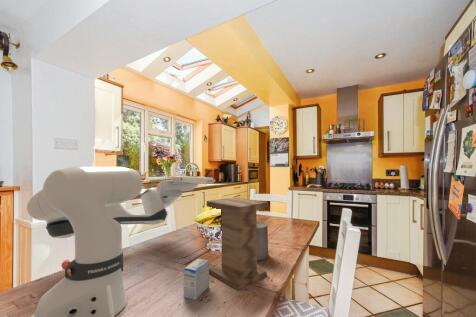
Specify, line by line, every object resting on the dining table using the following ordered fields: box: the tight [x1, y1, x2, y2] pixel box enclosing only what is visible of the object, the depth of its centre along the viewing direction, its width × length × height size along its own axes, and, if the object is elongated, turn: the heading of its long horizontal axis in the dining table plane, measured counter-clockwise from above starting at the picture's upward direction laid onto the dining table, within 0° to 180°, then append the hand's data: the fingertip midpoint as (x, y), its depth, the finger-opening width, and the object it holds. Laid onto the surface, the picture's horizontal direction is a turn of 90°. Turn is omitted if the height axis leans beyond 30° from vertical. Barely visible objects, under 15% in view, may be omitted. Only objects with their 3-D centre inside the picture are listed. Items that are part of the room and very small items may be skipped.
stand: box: [206, 197, 269, 291], centre depth 81 cm, size 14×18×26 cm
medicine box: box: [183, 258, 210, 301], centre depth 69 cm, size 8×4×9 cm, turn 159°
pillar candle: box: [257, 221, 269, 261], centre depth 97 cm, size 10×10×15 cm
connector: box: [179, 175, 216, 185], centre depth 102 cm, size 4×26×2 cm, turn 43°
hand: (185, 178), depth 109 cm, fingers closed on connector, 4 cm apart
